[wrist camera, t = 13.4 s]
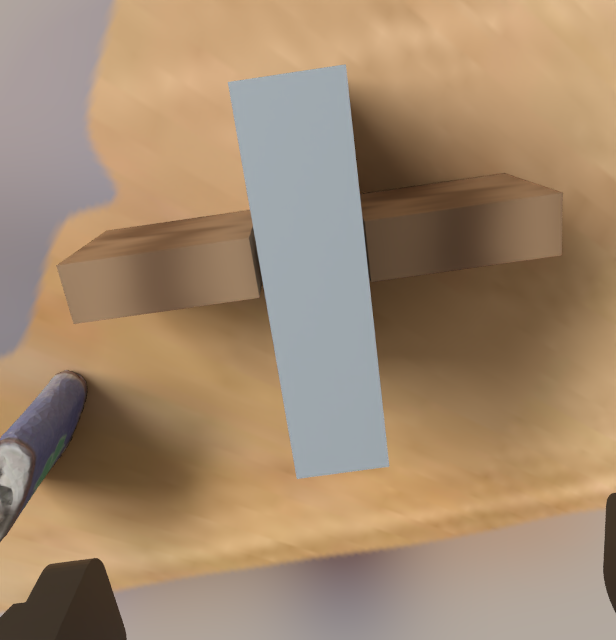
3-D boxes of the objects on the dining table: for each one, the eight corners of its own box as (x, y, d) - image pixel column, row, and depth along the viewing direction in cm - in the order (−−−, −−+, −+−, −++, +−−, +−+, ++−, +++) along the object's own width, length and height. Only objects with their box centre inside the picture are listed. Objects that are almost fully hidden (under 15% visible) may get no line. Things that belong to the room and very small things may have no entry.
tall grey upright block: (295, 350, 39) (296, 478, 25) (253, 89, 33) (227, 82, 20) (356, 341, 38) (389, 466, 25) (324, 79, 33) (345, 64, 20)
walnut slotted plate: (118, 278, 37) (73, 324, 29) (106, 230, 36) (56, 265, 28) (505, 223, 36) (562, 255, 28) (504, 173, 35) (562, 192, 27)
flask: (59, 362, 39) (-23, 455, 28) (101, 382, 39) (35, 481, 29) (7, 466, 41) (-84, 585, 31) (47, 484, 42) (-30, 606, 32)
